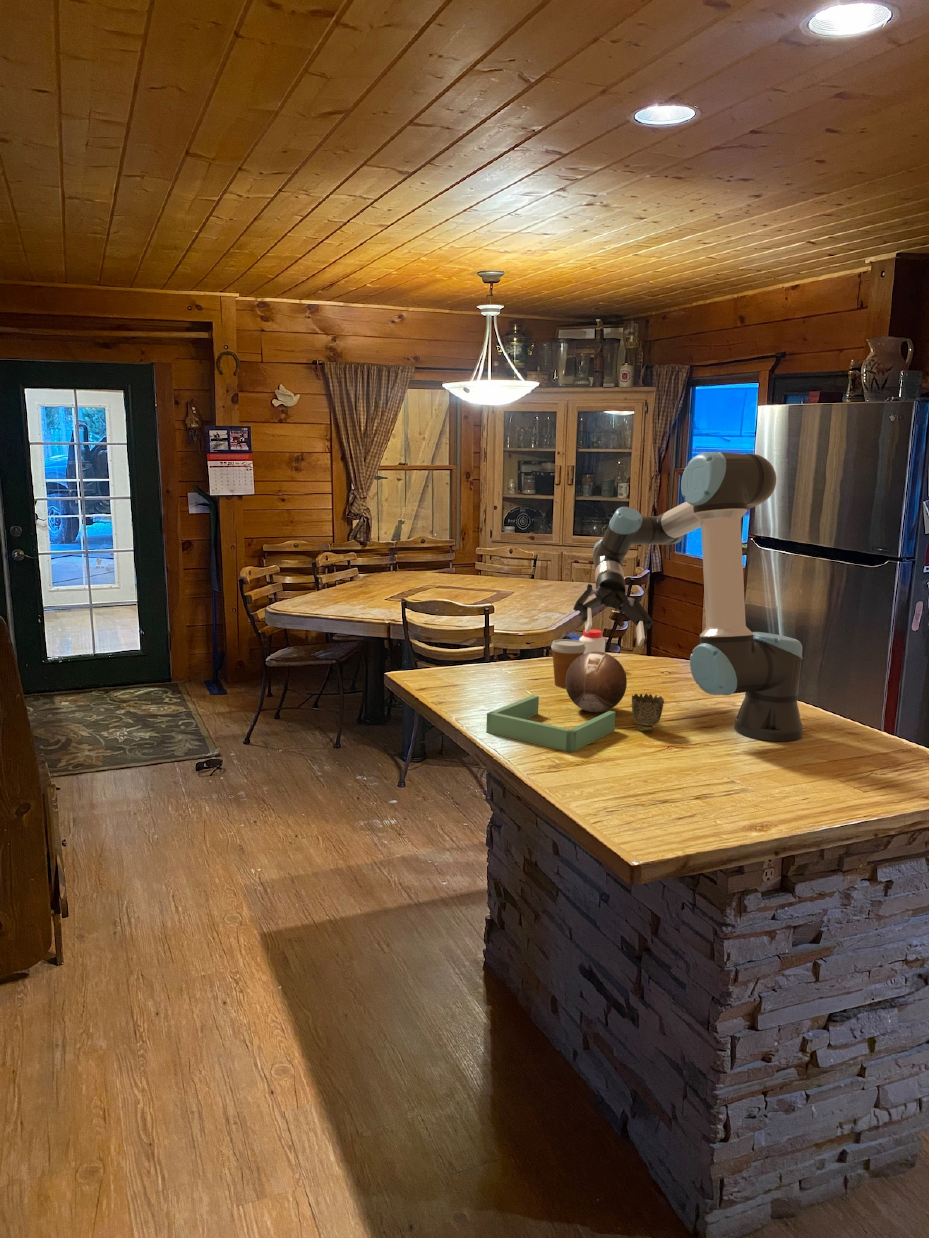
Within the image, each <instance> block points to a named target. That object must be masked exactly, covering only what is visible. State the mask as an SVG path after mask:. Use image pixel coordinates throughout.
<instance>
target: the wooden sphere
mask: <svg viewBox="0 0 929 1238" xmlns="http://www.w3.org/2000/svg"><path fill="white" fill-rule="evenodd" d="M565 685H566V688H565V689H566V690H565V691H566V693H567V695H568V697H569V699H570V700H571V701H572V703H574V704H575V706H577V707H578V708H580V709H581V710H583V711H586V712H589V713H603V712H604V713H605V712H608V711H611V709H613V708H615V707H616V706H617V705H618V704H619V703H620V702H621V701H622V700H623V698H624V696H625V693H626V691H627V685H628V680H627V675H626V671H625V669H624V667H623V665H622V663H620V661H619V660H618V659H617V658H615V657H614V656H612V655H611V654H609V653H606V652H605V653H603V652H588V653H585V654H583V655H581V656H579V657H578V658H576V659H575V660H574V661H573V662H572V664H571V665H570V667H569V668H568V671H567V674H566V679H565Z"/></svg>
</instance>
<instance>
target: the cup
mask: <svg viewBox="0 0 929 1238" xmlns="http://www.w3.org/2000/svg"><path fill="white" fill-rule="evenodd" d="M664 703H665V700H664V697H663V696H662V695H659V696H658V695H657V694H655V695H654V697H653V695H652V694H651V693H650V694H648V693H645V694H644V695H643V694H642V693H640V694H639V695H638V694H637V693H634V695H633V694H632V695H631V711H632V712H631V713H632V718H633V720H634V722H635V723H636V724H638V725H637V729H638V730H639V732H643V733H651V732H654V729H655V725H657V724H658V723H659V721H660V720H661V717H662V713H663V708H664Z"/></svg>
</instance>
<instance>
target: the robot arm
mask: <svg viewBox="0 0 929 1238" xmlns="http://www.w3.org/2000/svg"><path fill="white" fill-rule="evenodd" d="M776 485H777V474H776V471H775V468H774V466H773V465H772V463H771V462H770V461H769V460H768V459H767V458H765V457H763V456H762V455H761V454H755V453H749V452H748V453H743V452H741V453H739V452H724V451H710V452H702V453H699V454H697V455H695V456H694V457H692V458H691V459H690V460H689V461H688V463H687V465H686V466H685V468H684V471H683V473H682V476H681V482H680V490H681V494H682V498H684V500H685V502H683V503H680V504H678V505H677V506H674V507H673V508H671V509H669V510H667V511H666V512H664V513H661V514H660V515H655V516H654V515H653V516H652V515H650V516H649V515H647V516H642V514H641V513H640V512H639V510H637V509H635V508H631V507H629V506H621V507H618V508H617V509H616V510H615V512H614V514H613V516H612V517H611V518H610V520H609V524H608V526H607V528H606V531H605V532H604V535H603V538H601V539H599V540H597V542H595V544H594V546H593V552H592V559H593V567H594V577H595V578H594V579H595V588H594V587H593V585H592V584H590V583H588V584H587V586H586V588H585V590H584V592H583V593H582V594H581V596H579V598H578V599H577V600H576V601H575V604H574V606H573V611H576V612H577V611H579V613H578V615H579V617H581V618H580V619H581V621H582V622H584V630H585V633H589V631H590V629H592V626H593V617H592V616H593V615H592V610H595V609H596V608H599V607H601V606H603V605H604V607H606V608H607V607H608V608H612V609H616V610H618V612H620V614H622V613H623V614H624V616H626V617H627V619H629V620H630V621H631V622H632V623H633V624H634V625H635V626H636V628H635V633H636V642H637V646H638V647H642V645H643V644H644V642H645V639H646V634H647V632H648V630H650V629H651V626H652V625H653V623H654V620H653V619H652V617H651V616H650V615H649V613H648V611H646V609H645V608H644V607H643V605H642V604H641V603H640V601H639V596H637V595H634V596H633V597H628V595H627V594H626V593H627V592H626V591H627V590H626V582H625V581H626V580H625V573H624V572H625V571H624V565H623V564H624V563H623V562H624V559H625V557H626V556H627V553H628V552H629V550H630V548H631V547H632V546H639V545H640V546H641V545H642V546H643V545H644V546H646V545H647V546H648V545H650V546H651V545H665V546H668V545H669V546H670V545H673V544H674V545H675V544H679V543H680V542H682V540H683V539H684V537H685V535H687V534H689V533H690V532H693V531H695V530H697V529H700V530H701V548H702V550H701V551H702V569H703V570H702V571H703V591H704V607H705V609H704V610H705V629H704V630H703V631H702V632H701V633H700V634H699V644H698V645H696V646H695V647H694V648H693V649H692V653H690V657H689V668H690V672H691V675H692V679H693V680H694V682H695V684H696V685H698V687H699V688H700V689H701V690H702V691H703V692H704V693H706V694H708V695H712V696H730V695H735V694H741V693H742V694H743V693H744V694H745V695H744V698H743V700H742V703H741V705H740V708H739V710H738V713H737V715H736V716H735V719H734V726H733V727H734V730H735V731H736V732H737V733H739V734H741V735H743V736H746V737H749V738H752V739H757V740H763V741H769V742H772V741H773V742H791V741H793V742H794V741H797V740H799V739H801V738H802V737H803V732H804V726H803V723H802V722H801V721H802V720H801V714H800V709H799V705H798V700H799V699H798V698H799V690H800V679H801V672H802V664H803V663H802V662H803V645H802V643H801V641H800V640H798V639H796V638H794V637H793V638H792V637H789V636H785V635H781V634H774V633H769V632H761V631H751V630H750V629H749V628H748V626H747V624H746V607H745V605H746V604H745V603H746V601H745V586H744V568H743V567H744V563H743V562H744V561H743V545H742V543H743V541H742V525H741V524H742V522H741V521H742V518H743V517H744V515H746V513H747V512H748V510H750V509H752V508H754V507H757V506H758V505H761V504H763V503H764V502H766V501H767V500H769V498H770V497H771V496H772V494H773V492H774V491H775V489H776ZM593 595H595V598H592V599H591V600H589V601H587V600H588V599H589V597H592V596H593ZM586 601H587V602H586Z"/></svg>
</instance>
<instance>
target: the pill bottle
mask: <svg viewBox="0 0 929 1238" xmlns="http://www.w3.org/2000/svg"><path fill="white" fill-rule="evenodd" d="M582 631H583V635H581V636H580V637H579V639H578V641H581V642H584V645H585V647H586V649H585V651H584V654H585V653H588V652H603V653H606V639H605V638H604V637H603V631H602V630H599V629H592V628H591V629H590V631H589V633H585V629H584V630H582Z"/></svg>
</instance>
